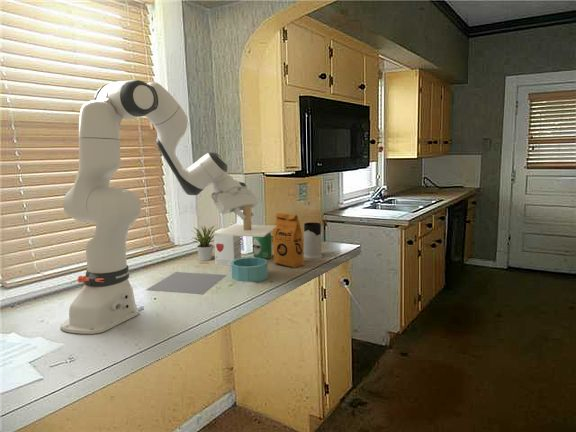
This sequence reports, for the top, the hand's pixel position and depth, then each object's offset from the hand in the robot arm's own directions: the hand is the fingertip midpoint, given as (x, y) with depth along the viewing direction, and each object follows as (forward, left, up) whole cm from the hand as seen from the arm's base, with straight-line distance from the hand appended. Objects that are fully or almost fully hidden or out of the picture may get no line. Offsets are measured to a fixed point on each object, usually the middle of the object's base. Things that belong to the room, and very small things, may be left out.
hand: (248, 217), depth 159 cm
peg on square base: (0, +1, -5) cm, 5 cm away
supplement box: (+16, +15, -24) cm, 33 cm away
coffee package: (+20, -11, -24) cm, 33 cm away
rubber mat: (-12, +20, -24) cm, 33 cm away
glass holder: (+39, -19, -24) cm, 49 cm away
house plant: (+22, +27, -24) cm, 43 cm away
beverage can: (+28, +3, -24) cm, 37 cm away
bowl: (0, 0, -24) cm, 24 cm away
